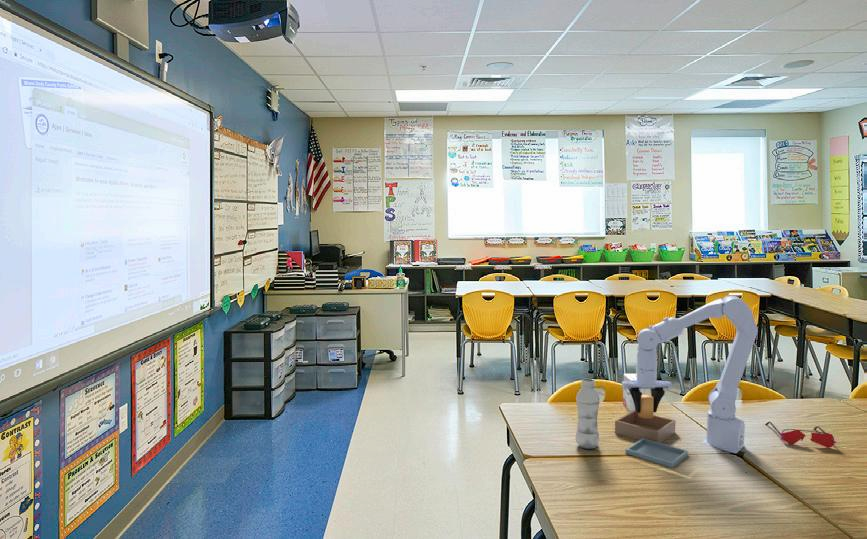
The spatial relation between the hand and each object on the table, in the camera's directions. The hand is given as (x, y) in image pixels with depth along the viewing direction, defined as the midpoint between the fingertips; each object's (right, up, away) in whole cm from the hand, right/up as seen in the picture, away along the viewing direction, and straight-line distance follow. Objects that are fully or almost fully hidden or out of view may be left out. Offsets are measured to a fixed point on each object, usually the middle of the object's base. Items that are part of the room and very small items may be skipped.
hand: (645, 411), depth 164 cm
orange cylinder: (0, -1, 0) cm, 1 cm away
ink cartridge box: (+5, -6, +24) cm, 25 cm away
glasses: (+46, -8, -1) cm, 47 cm away
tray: (-3, -9, -15) cm, 17 cm away
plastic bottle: (-21, -8, -8) cm, 24 cm away
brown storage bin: (0, -7, +1) cm, 7 cm away
